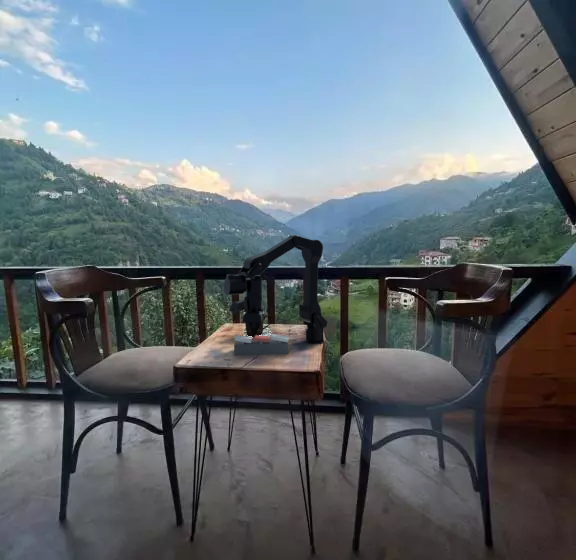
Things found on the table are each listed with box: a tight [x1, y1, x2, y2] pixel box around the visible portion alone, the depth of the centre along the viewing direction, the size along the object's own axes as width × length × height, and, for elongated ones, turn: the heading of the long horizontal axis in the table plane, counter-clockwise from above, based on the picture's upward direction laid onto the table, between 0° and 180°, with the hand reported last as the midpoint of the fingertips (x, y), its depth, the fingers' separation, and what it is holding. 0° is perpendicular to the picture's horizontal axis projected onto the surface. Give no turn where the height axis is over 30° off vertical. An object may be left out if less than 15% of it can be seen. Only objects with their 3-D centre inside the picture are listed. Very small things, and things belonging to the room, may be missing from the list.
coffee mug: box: [243, 311, 274, 336], centre depth 150 cm, size 12×9×10 cm
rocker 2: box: [270, 333, 289, 343], centre depth 128 cm, size 6×4×1 cm, turn 91°
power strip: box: [233, 336, 289, 357], centre depth 130 cm, size 19×8×5 cm, turn 92°
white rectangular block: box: [233, 334, 252, 343], centre depth 128 cm, size 6×4×1 cm, turn 91°
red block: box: [253, 335, 271, 342], centre depth 128 cm, size 6×4×1 cm, turn 91°
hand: (253, 336), depth 128 cm, fingers closed, pressing on red block
